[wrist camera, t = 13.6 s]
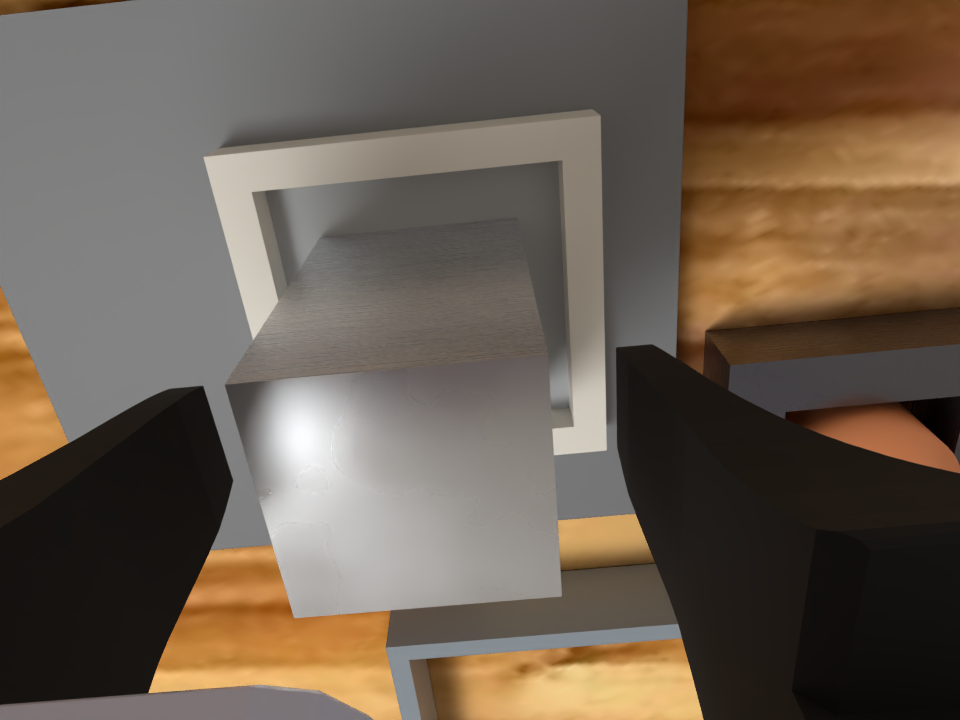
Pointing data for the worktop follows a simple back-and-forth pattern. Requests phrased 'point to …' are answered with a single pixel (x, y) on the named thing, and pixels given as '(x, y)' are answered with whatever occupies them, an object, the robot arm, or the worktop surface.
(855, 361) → the button collar
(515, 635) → the tote
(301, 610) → the block
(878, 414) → the button
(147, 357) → the board
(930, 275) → the worktop surface
